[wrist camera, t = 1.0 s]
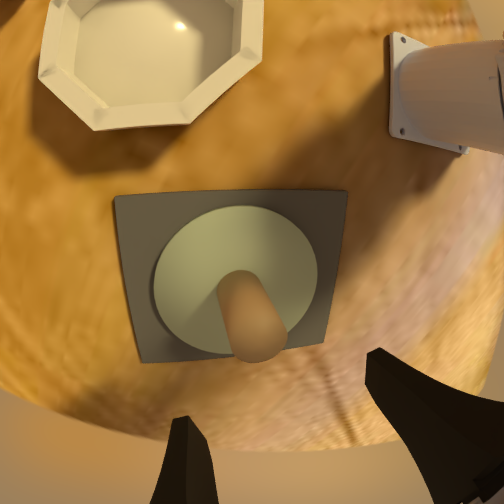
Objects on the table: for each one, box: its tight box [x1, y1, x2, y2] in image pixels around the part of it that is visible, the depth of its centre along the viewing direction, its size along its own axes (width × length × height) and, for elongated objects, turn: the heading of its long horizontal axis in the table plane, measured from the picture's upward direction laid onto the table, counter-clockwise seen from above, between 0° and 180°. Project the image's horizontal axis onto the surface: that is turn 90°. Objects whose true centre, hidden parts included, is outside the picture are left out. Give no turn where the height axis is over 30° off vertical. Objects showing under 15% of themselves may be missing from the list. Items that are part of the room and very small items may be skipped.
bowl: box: [38, 0, 264, 131], centre depth 11 cm, size 11×11×3 cm
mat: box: [114, 189, 348, 363], centre depth 19 cm, size 14×12×1 cm
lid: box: [154, 205, 317, 363], centre depth 16 cm, size 10×10×6 cm
